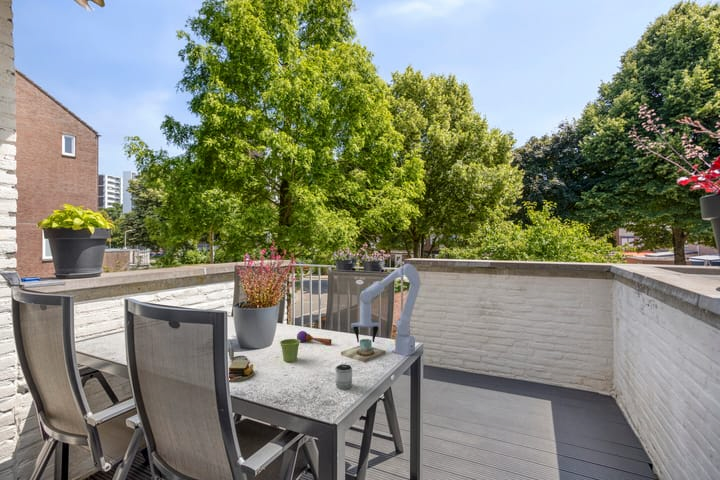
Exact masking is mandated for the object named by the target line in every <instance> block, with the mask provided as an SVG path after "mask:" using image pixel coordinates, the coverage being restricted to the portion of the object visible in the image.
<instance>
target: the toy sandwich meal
mask: <svg viewBox="0 0 720 480" xmlns="http://www.w3.org/2000/svg"><path fill="white" fill-rule="evenodd" d="M250 363H251V361H250V360H249V359H248V360H247V359H246V360H233V361H232V360H231V364H230V365H229V367H228V370H229V378H230V381H229V382H240V381H239V380H241V381H246V380H247V379H250V378H252V376H253V375H254V374H255V371H254V364H253V363H252V364H250Z"/></svg>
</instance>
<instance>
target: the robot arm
mask: <svg viewBox="0 0 720 480" xmlns="http://www.w3.org/2000/svg"><path fill="white" fill-rule="evenodd" d="M404 277H406V278H407V280H408V282H409V288H408V289H407V290H408V291H407V293H406V298H405V301H404V304H403V308H402V310H401V313H400V315H399V318H398V319H397V320H396V321H395V329H396V331H395V333H394V337H395V340H394V341H395V342H394V343H395V344H394V347H395V348H394V349H393V350H391V352H392V353H395V354H398V355H403V356H406V357H408V356H410V355H413V354H415V353H416V352H417V351H416V338H415V337H414V336H413V335H411V332H410V331H411V327H410V324H411V317H412V315H413V312H414V311H413V310H414V307H415V303H416V301H417V298H418V294H419V291H420V289H421V284H422V283H421V279H420V275H419V271H418V270H417V268H416V267H415V265H413V264H411V263H404V264H403V265H401V266H400V267H398V268H396V269H395V270H393V271H392V272H391V273H390V274H388V275H387V276H386V277H384V279H382V280H377V281H373V282H372V284H371V285H369V286H368V287H365V289H363V290H362V291H361V293H360V295H359V299H360V303H359V304H360V305H359V322H352V323H350V327H351V329H353V331H354V334H355V337H356V341H357V343H360V339H359V338H360V337H359V332H360V331H359V330H360V329H359V328H372V339H371V341H372V342H373V343H375V339H376V335H377V333H378V331H379V328H381V322H373V321H372V300H373V298H375V297H377V296H378V295H380V294H381V293H382V292H383V291H384V292H385V287H386V286H387V285H389V284H390V283H391V284H392V282H393V281H395V280H396V279H398V278H404Z"/></svg>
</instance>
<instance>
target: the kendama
mask: <svg viewBox="0 0 720 480" xmlns="http://www.w3.org/2000/svg"><path fill="white" fill-rule="evenodd" d="M296 339H298V340H300V343H304V342H310V341H316V342H318V343H322V344H324V345H327V346H331V344H332V341H333V340H332V339H331V338H321V337H320V338H319V337H313V336H312V335H311V334H310V333H307V332H306V331H304V330H301V331H298V333H297V335H296Z"/></svg>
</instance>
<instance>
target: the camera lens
mask: <svg viewBox="0 0 720 480" xmlns="http://www.w3.org/2000/svg"><path fill="white" fill-rule="evenodd" d="M352 385H353V367H352V366H351V365H350V364H341V363H340V364H339V365H337V366H336V368H335V386H336V389H339V390H341V391H342V390H344V391H345V390H350V389H351V388H352Z"/></svg>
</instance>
